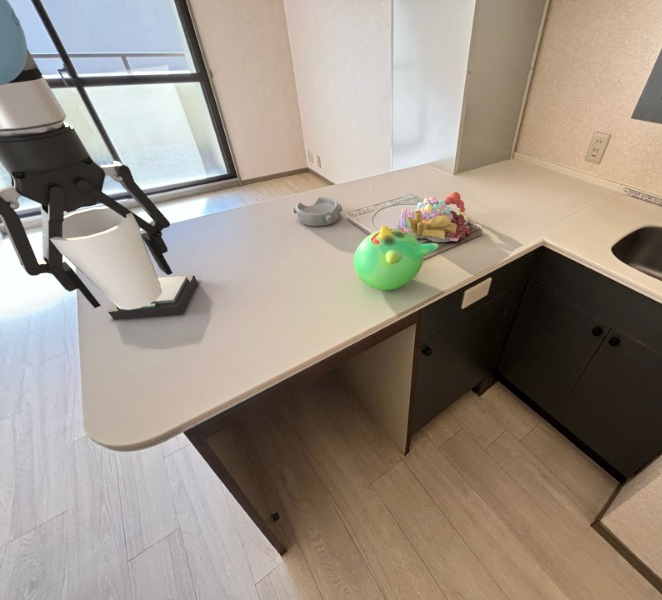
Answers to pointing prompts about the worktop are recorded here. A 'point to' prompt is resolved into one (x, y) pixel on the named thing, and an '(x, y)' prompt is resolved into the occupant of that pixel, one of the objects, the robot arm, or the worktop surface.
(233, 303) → the worktop surface
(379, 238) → the toy bird
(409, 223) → the candy landscape model
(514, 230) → the worktop surface
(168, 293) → the scale
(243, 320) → the worktop surface
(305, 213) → the dish
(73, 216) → the foam cup
